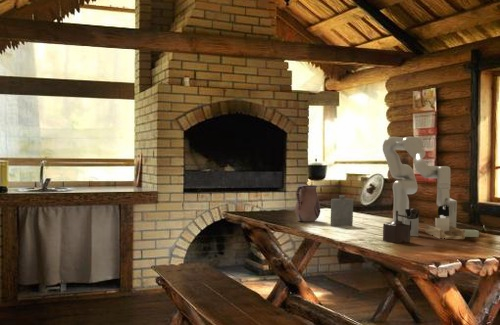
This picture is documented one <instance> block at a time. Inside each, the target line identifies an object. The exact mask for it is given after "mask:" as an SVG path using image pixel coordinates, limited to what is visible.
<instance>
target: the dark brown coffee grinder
mask: <svg viewBox="0 0 500 325" xmlns="http://www.w3.org/2000/svg"><path fill="white" fill-rule="evenodd" d="M410 209H411V210H410V212H411V215H410V216H404V215H399V214H398V211H396V221H393V220H392V221H393V222H392V221H390V222H391V223H386V222H385V223H386V224H385V223H383V226H382V227H383V228H382V241H383V242H388V243H392V244H404V243H411V236H410V225H407V224H404V223H403V222H402V221H398V216H401V217H406V218H413V217H415V215H416V214H417V212H418V211H417V210H418V209H416V208H413V207H412V208H410Z"/></svg>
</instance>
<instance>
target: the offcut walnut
mask: <svg viewBox="0 0 500 325" xmlns="http://www.w3.org/2000/svg"><path fill="white" fill-rule="evenodd" d="M444 234H450V235H452V231H448V230H444Z"/></svg>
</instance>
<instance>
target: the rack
mask: <svg viewBox="0 0 500 325" xmlns="http://www.w3.org/2000/svg"><path fill="white" fill-rule="evenodd" d="M462 229H463V228H462ZM462 229H461V228H458V227H457V226H456V227H453V226H450V225H449V231H452V234H453V235H454V236H443V230H442V229H439V228H436V227H435V225H434V226H433V225H430V224H425V233H426V234H428V235H430V236H432V235H433V236H432V237H435V238H438V239H440V238H442V239H441V240H465V238H466V237H465V230H462ZM444 238H445V239H444Z"/></svg>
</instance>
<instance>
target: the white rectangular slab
mask: <svg viewBox="0 0 500 325" xmlns="http://www.w3.org/2000/svg"><path fill="white" fill-rule="evenodd" d="M434 219H435V222H434V223H435V224H434V227H436V228H439V229H442V230H443V233H444V230H448V231H449V218H440V217H435V218H434Z"/></svg>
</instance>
